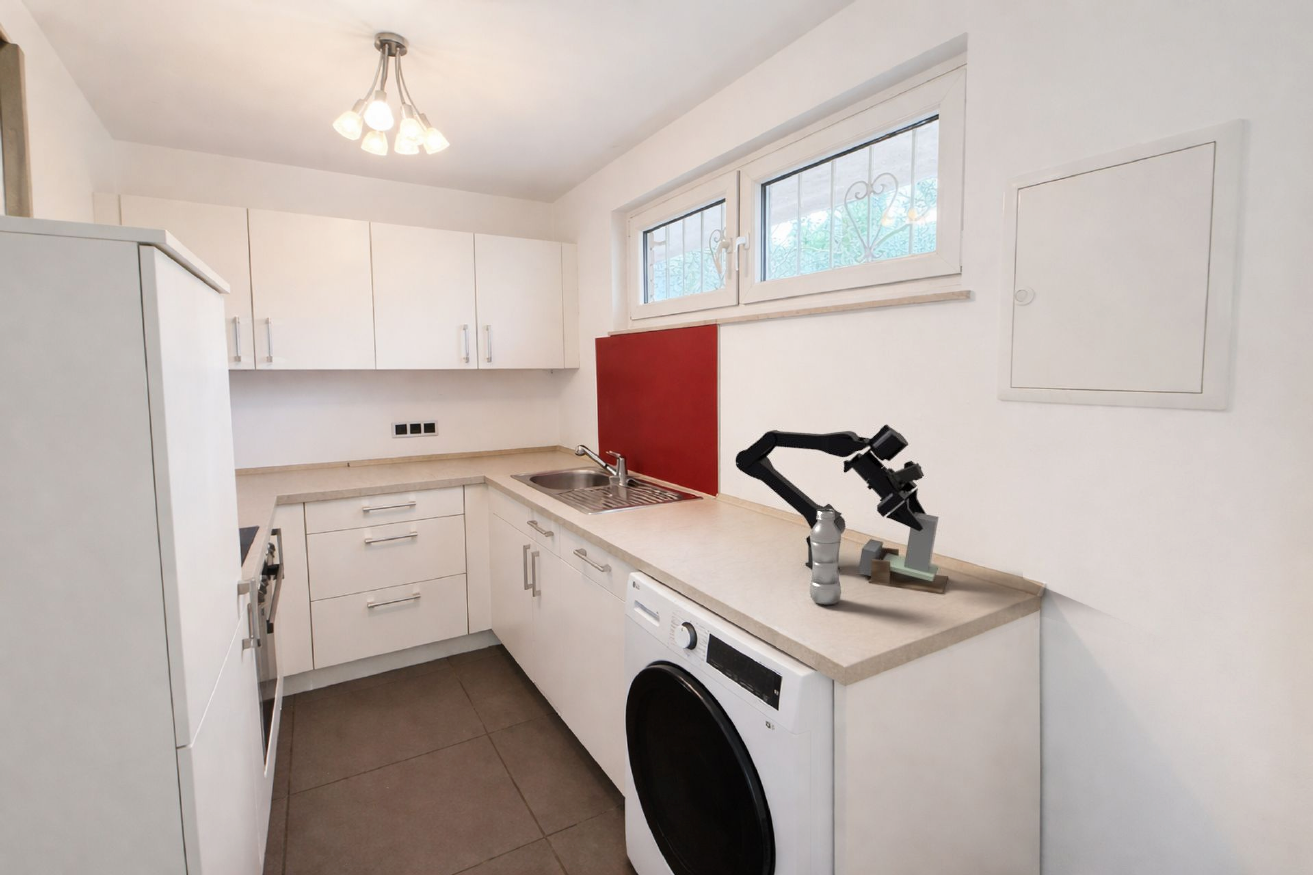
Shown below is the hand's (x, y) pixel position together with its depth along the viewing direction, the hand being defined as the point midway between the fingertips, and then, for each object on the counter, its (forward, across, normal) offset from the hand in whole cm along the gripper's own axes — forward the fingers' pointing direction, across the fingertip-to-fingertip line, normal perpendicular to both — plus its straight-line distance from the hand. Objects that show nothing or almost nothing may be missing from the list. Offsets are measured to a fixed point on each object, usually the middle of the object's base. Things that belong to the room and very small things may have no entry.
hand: (924, 525), depth 139 cm
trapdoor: (+5, 0, +13) cm, 14 cm away
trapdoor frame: (+7, 0, +12) cm, 14 cm away
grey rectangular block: (+6, 0, +8) cm, 10 cm away
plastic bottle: (-2, -22, +21) cm, 31 cm away
